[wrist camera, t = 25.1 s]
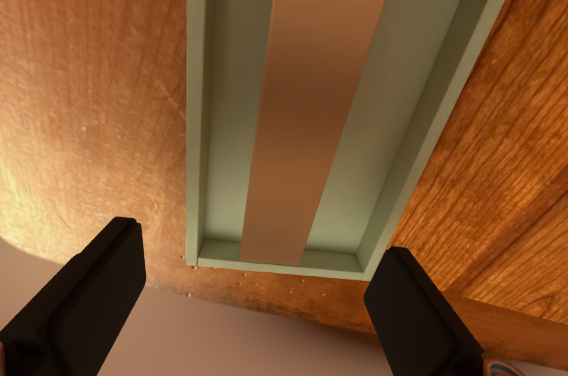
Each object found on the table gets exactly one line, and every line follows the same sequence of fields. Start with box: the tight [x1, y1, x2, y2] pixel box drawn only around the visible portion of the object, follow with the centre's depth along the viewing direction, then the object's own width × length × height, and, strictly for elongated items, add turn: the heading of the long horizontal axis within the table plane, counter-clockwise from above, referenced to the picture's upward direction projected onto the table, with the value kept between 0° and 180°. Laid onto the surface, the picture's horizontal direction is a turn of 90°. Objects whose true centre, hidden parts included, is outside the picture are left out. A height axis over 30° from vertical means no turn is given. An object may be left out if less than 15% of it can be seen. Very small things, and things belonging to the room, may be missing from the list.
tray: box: [185, 0, 505, 281], centre depth 9 cm, size 10×21×2 cm, turn 169°
